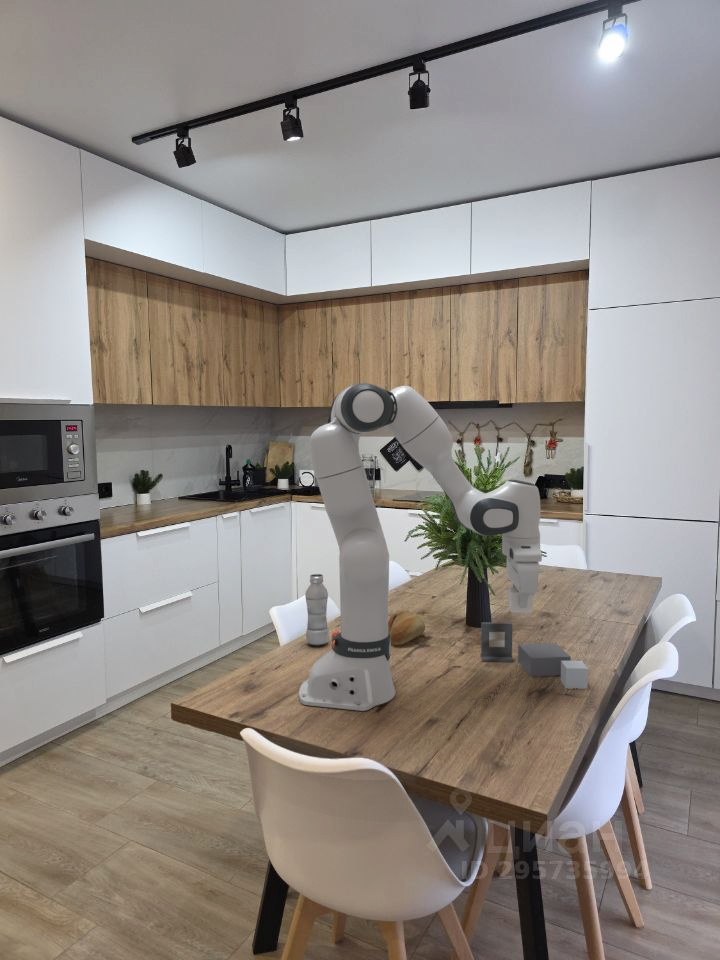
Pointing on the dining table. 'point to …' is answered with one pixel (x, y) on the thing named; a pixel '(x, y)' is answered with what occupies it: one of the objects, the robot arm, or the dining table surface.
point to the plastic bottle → (317, 611)
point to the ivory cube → (514, 602)
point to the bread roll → (405, 627)
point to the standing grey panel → (496, 642)
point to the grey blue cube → (574, 674)
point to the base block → (542, 658)
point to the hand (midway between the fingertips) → (520, 603)
